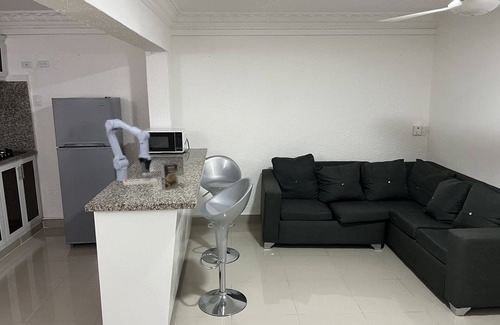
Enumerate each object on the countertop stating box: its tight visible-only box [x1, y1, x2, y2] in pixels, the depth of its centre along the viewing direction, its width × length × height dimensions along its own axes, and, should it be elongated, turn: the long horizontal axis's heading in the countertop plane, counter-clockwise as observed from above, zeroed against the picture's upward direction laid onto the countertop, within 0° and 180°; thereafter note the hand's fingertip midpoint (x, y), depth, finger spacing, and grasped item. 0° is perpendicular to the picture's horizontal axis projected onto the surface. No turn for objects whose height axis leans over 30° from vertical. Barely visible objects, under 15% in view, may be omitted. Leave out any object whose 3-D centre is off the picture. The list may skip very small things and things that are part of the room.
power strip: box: [122, 177, 158, 186], centre depth 260 cm, size 9×22×3 cm, turn 112°
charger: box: [140, 162, 151, 174], centre depth 259 cm, size 5×5×7 cm
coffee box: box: [160, 162, 179, 191], centre depth 248 cm, size 9×6×16 cm
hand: (145, 168), depth 260 cm, fingers closed on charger, 6 cm apart
